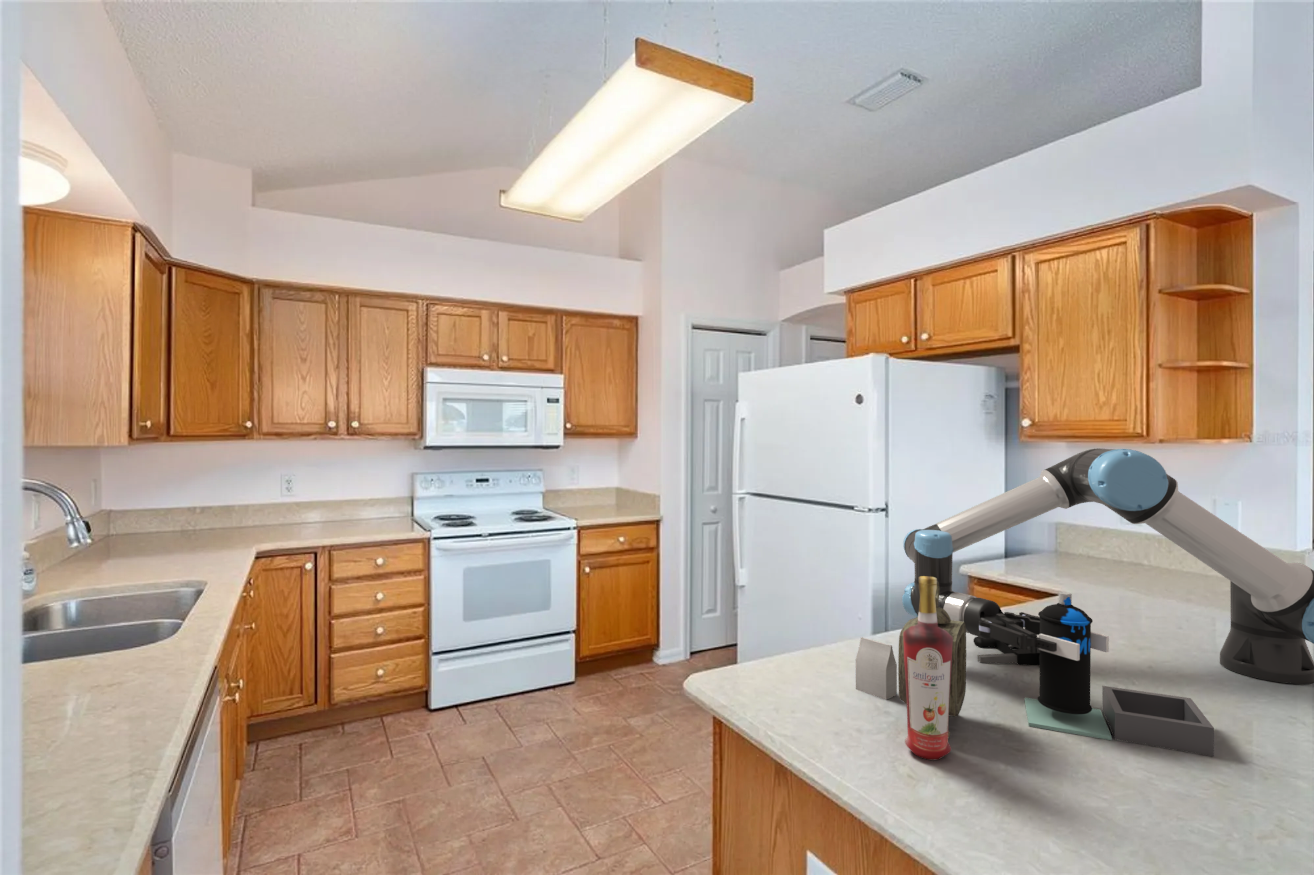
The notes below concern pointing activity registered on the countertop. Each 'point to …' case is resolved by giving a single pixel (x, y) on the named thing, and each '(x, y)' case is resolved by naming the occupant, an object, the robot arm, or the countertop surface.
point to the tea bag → (876, 669)
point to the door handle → (1006, 653)
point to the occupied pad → (1067, 720)
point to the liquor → (927, 678)
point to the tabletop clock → (958, 658)
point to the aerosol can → (1065, 659)
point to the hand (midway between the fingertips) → (1093, 648)
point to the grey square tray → (1157, 720)
